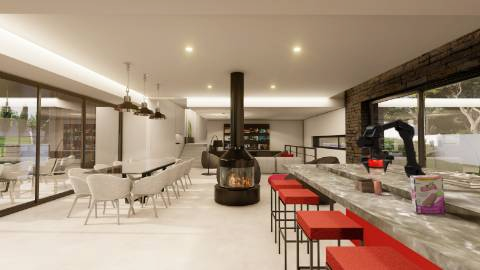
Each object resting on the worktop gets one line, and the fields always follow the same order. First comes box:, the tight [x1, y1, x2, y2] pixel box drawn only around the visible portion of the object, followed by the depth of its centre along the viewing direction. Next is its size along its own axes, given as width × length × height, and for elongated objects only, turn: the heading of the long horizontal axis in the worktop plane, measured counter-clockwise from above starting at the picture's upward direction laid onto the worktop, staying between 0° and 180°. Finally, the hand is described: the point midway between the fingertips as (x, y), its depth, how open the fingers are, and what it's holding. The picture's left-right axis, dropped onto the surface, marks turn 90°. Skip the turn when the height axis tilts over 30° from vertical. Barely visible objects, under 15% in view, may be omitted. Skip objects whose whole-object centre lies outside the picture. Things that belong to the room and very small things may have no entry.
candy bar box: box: [409, 174, 446, 215], centre depth 113 cm, size 11×5×16 cm, turn 74°
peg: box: [374, 180, 382, 196], centre depth 151 cm, size 3×3×8 cm
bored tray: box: [353, 178, 383, 193], centre depth 165 cm, size 12×12×6 cm
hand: (376, 172), depth 150 cm, fingers open, 9 cm apart
